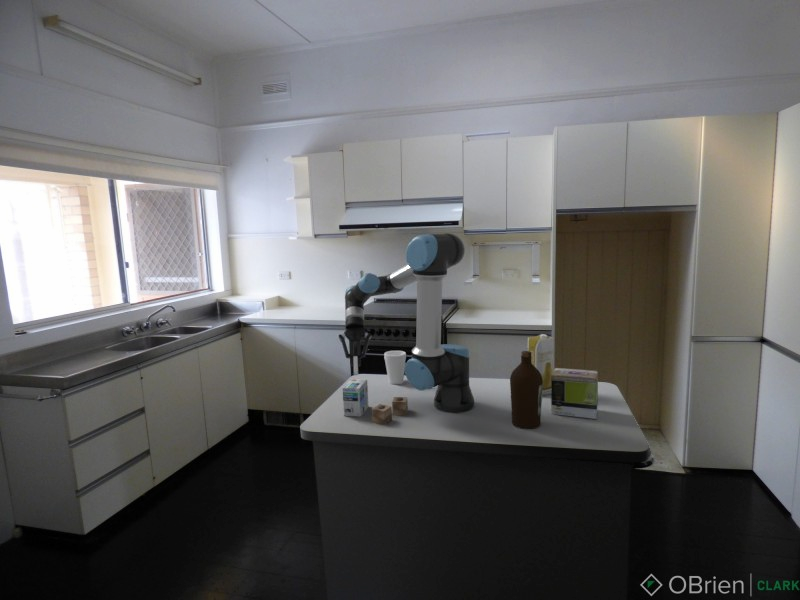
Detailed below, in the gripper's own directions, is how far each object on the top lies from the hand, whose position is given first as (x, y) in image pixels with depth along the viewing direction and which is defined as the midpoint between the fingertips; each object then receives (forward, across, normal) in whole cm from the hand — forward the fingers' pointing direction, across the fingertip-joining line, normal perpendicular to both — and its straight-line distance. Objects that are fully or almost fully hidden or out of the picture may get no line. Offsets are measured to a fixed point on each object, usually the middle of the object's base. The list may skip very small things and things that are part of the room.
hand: (355, 373), depth 179 cm
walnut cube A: (+13, -16, -7) cm, 22 cm away
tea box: (+20, -77, 0) cm, 80 cm away
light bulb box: (+11, 0, -10) cm, 15 cm away
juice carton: (+5, -73, -15) cm, 74 cm away
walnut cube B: (+18, -9, -2) cm, 20 cm away
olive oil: (+25, -57, +5) cm, 63 cm away
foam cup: (-11, -16, -32) cm, 38 cm away
